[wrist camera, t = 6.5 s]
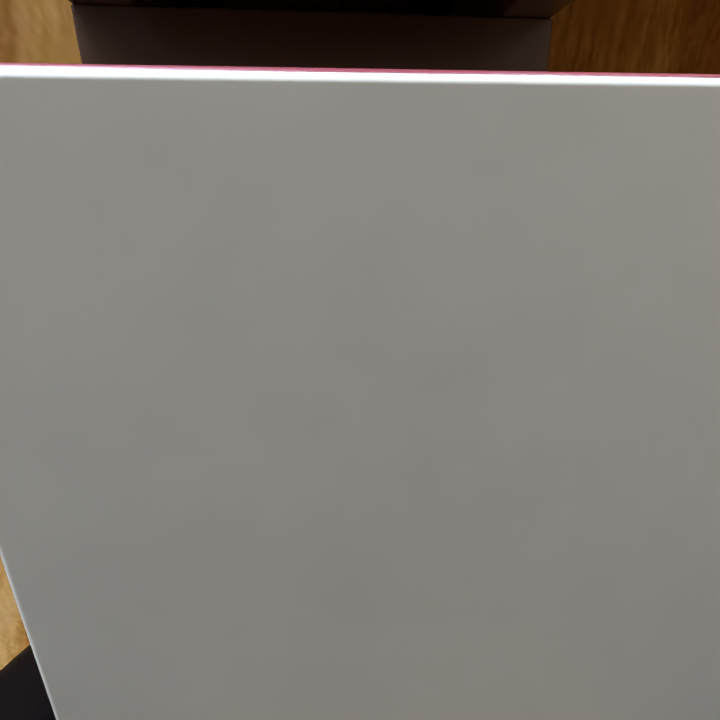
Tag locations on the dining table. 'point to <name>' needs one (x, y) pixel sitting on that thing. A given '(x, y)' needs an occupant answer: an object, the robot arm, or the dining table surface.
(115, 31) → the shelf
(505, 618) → the red white box
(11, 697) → the robot arm
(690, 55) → the dining table surface
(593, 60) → the dining table surface
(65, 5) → the dining table surface
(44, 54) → the dining table surface
